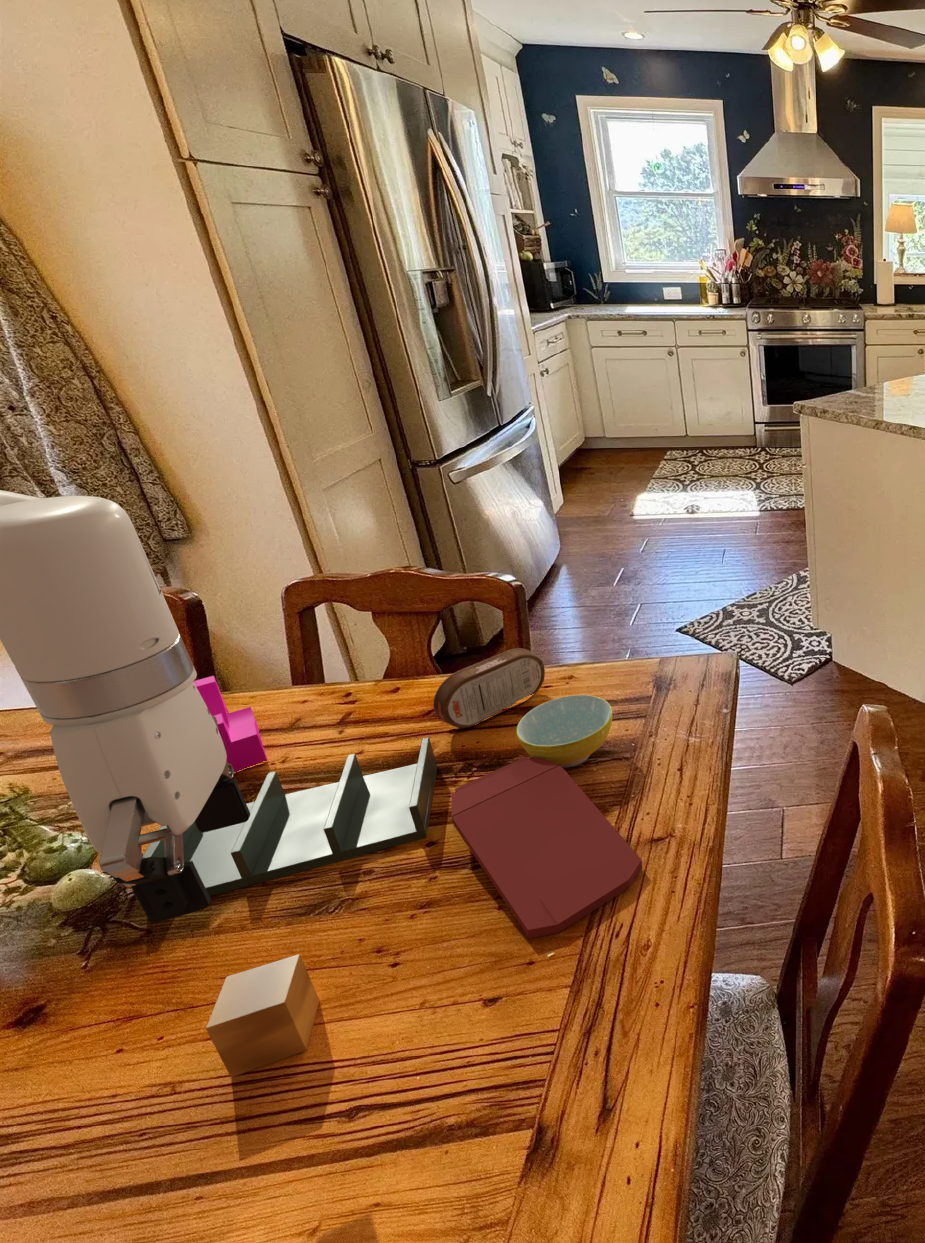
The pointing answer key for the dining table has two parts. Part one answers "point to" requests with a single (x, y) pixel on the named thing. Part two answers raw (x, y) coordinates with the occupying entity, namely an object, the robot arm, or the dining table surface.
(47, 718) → the robot arm
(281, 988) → the package
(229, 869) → the rack
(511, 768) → the carton
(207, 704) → the toy block
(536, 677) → the tin
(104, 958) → the dining table surface
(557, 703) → the bowl
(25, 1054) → the dining table surface
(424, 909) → the dining table surface
